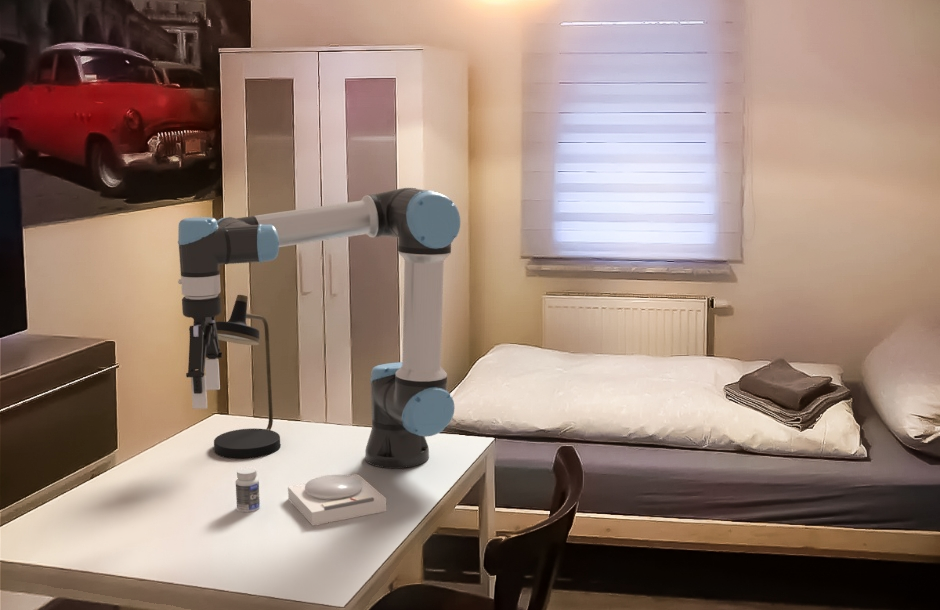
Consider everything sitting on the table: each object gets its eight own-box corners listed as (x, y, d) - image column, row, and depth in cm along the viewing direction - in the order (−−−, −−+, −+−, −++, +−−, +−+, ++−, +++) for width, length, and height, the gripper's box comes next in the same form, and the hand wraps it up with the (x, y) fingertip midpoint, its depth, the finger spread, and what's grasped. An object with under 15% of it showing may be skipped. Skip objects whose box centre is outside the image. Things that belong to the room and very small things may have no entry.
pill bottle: (254, 513, 216) (252, 475, 214) (233, 511, 217) (231, 473, 215) (263, 504, 220) (261, 467, 219) (242, 503, 221) (240, 465, 220)
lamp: (198, 456, 250) (188, 299, 243) (244, 429, 271) (237, 283, 263) (257, 463, 245) (250, 303, 238) (300, 435, 266) (294, 287, 258)
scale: (358, 486, 231) (357, 469, 230) (386, 511, 217) (385, 492, 216) (288, 499, 224) (287, 481, 223) (312, 525, 210) (312, 506, 209)
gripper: (195, 284, 219) (200, 382, 223) (167, 308, 194) (174, 417, 199) (231, 284, 219) (235, 381, 223) (208, 307, 195) (213, 416, 199)
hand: (206, 398), depth 211 cm, fingers open, 13 cm apart
